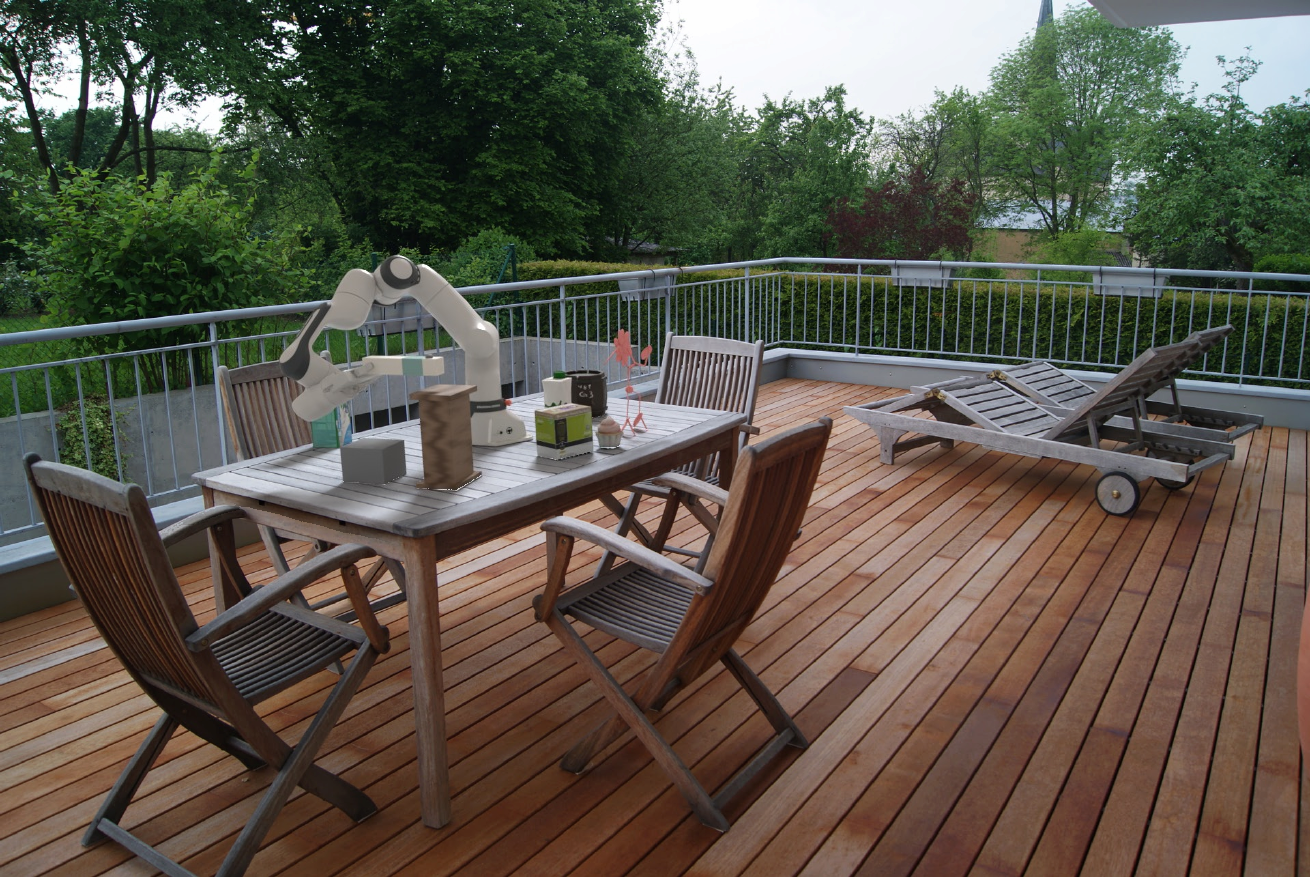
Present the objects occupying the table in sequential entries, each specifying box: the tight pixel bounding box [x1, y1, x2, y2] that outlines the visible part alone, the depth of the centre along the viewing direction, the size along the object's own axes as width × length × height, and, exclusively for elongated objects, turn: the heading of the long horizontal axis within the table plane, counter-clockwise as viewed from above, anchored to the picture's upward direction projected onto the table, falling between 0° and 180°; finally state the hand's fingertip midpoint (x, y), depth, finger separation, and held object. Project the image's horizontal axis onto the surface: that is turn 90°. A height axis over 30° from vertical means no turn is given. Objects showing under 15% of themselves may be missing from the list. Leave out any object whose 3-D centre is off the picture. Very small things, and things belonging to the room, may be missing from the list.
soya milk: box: [541, 370, 572, 409], centre depth 325 cm, size 9×9×20 cm
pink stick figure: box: [603, 328, 656, 435], centre depth 320 cm, size 15×26×35 cm, turn 154°
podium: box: [339, 437, 407, 485], centre depth 267 cm, size 13×12×10 cm
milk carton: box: [310, 400, 353, 449], centre depth 308 cm, size 9×9×25 cm
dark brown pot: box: [564, 369, 609, 418], centre depth 353 cm, size 18×18×16 cm
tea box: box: [534, 403, 595, 461], centre depth 291 cm, size 15×10×15 cm
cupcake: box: [594, 415, 625, 448], centre depth 300 cm, size 9×9×10 cm
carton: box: [361, 354, 445, 377], centre depth 258 cm, size 22×5×5 cm, turn 75°
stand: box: [408, 383, 483, 490], centre depth 259 cm, size 12×16×26 cm
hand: (377, 363), depth 260 cm, fingers closed on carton, 4 cm apart
